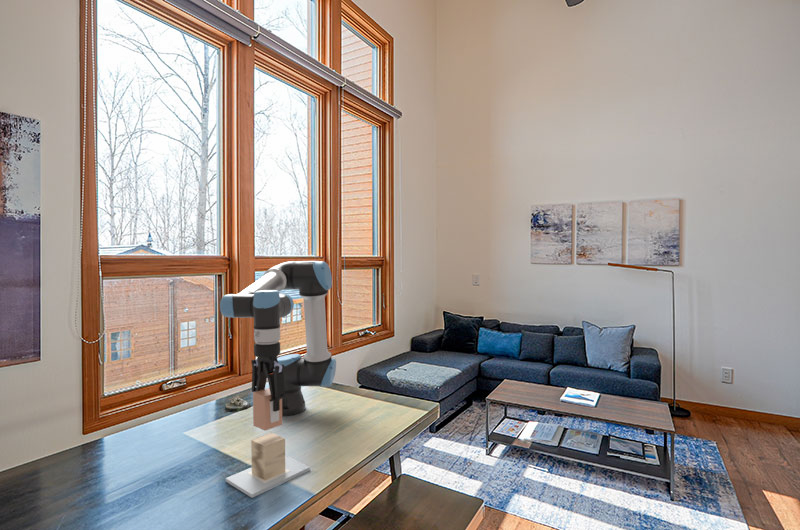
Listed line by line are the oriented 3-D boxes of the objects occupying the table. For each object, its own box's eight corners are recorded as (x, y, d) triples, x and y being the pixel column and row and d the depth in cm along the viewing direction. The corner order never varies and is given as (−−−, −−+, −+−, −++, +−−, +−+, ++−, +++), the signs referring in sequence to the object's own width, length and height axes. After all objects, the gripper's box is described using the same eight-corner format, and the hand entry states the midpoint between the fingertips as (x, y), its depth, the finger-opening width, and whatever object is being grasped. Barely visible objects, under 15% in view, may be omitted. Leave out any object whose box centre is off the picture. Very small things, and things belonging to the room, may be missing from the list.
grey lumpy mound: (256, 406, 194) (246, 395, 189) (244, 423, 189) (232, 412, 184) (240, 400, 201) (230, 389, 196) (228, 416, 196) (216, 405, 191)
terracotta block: (253, 425, 131) (253, 392, 131) (270, 419, 136) (270, 387, 136) (264, 430, 127) (264, 396, 127) (282, 424, 132) (281, 391, 132)
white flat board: (225, 481, 129) (225, 477, 129) (282, 457, 144) (282, 453, 144) (252, 498, 120) (252, 494, 120) (310, 470, 135) (310, 466, 135)
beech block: (251, 472, 132) (251, 439, 131) (271, 464, 137) (271, 432, 137) (265, 480, 127) (264, 446, 127) (285, 471, 133) (285, 438, 132)
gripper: (238, 340, 134) (239, 415, 135) (275, 348, 122) (276, 430, 123) (260, 336, 140) (261, 408, 140) (297, 343, 128) (297, 422, 128)
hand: (268, 418), depth 132 cm, fingers closed on terracotta block, 6 cm apart
